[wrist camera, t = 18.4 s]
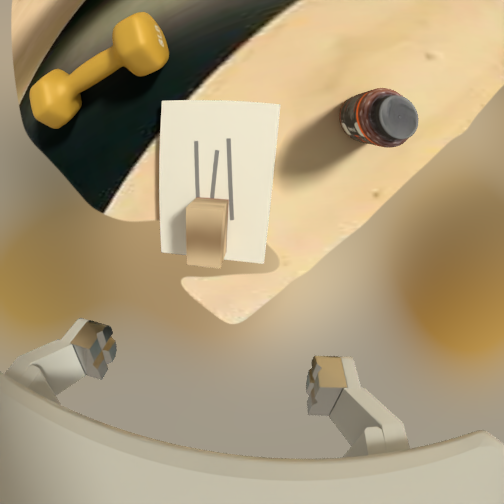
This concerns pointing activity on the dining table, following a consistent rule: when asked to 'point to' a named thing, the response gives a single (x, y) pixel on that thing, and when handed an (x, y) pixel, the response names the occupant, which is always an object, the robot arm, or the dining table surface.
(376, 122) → the supplement bottle
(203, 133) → the board
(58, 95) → the dumbbell
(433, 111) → the dining table surface
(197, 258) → the block
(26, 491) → the robot arm
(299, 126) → the dining table surface
